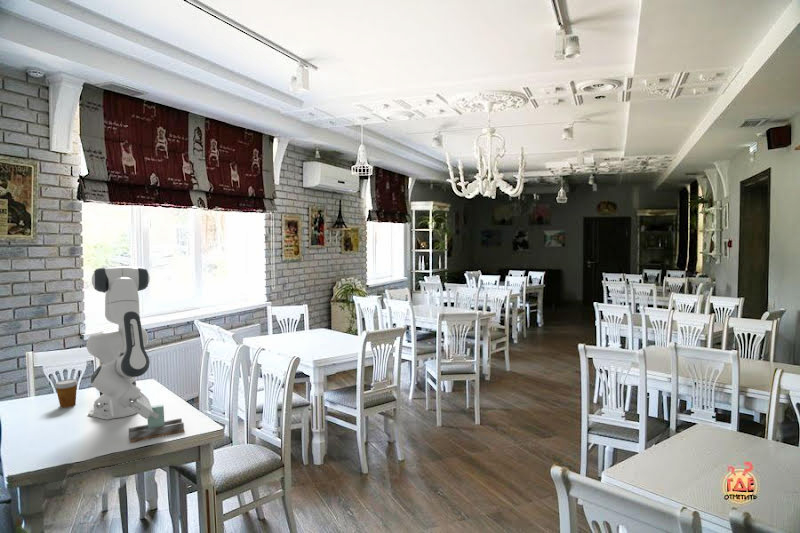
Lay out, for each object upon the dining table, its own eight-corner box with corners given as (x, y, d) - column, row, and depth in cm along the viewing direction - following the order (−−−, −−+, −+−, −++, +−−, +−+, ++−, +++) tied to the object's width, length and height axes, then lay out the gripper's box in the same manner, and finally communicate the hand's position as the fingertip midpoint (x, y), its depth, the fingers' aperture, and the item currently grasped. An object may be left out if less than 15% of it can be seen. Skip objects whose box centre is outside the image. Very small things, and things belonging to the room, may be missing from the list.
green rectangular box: (148, 430, 215) (147, 408, 214) (148, 428, 217) (146, 407, 216) (164, 427, 218) (163, 406, 217) (164, 425, 220) (162, 404, 219)
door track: (130, 443, 209) (129, 434, 208) (128, 435, 216) (128, 427, 216) (184, 432, 219) (184, 423, 218) (181, 425, 226) (180, 417, 226)
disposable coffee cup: (83, 404, 259) (81, 380, 258) (62, 410, 251) (60, 385, 250) (73, 401, 264) (71, 377, 263) (52, 407, 256) (50, 382, 255)
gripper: (137, 396, 204) (166, 416, 209) (133, 383, 221) (160, 402, 227) (124, 410, 202) (154, 429, 207) (121, 396, 219) (149, 414, 225)
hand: (157, 415), depth 217 cm, fingers closed on green rectangular box, 2 cm apart
